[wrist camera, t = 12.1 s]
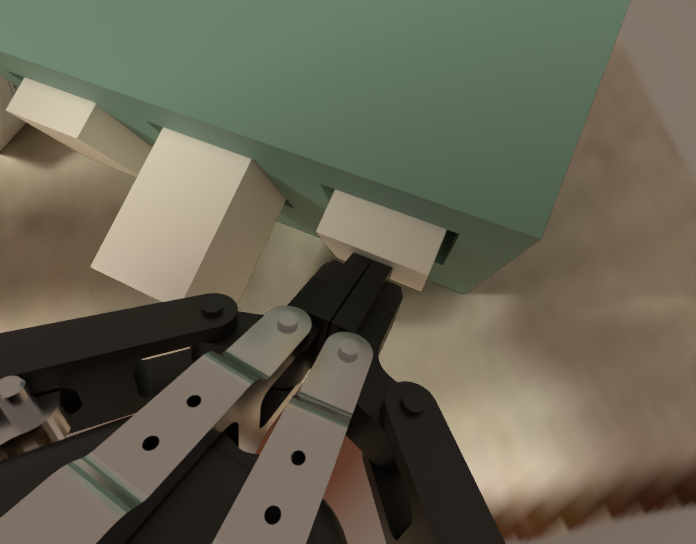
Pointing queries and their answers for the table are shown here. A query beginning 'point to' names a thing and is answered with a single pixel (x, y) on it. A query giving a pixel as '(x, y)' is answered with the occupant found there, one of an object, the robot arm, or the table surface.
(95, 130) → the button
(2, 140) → the die
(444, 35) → the console
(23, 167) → the table surface
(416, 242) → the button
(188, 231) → the button mid
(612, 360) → the table surface
